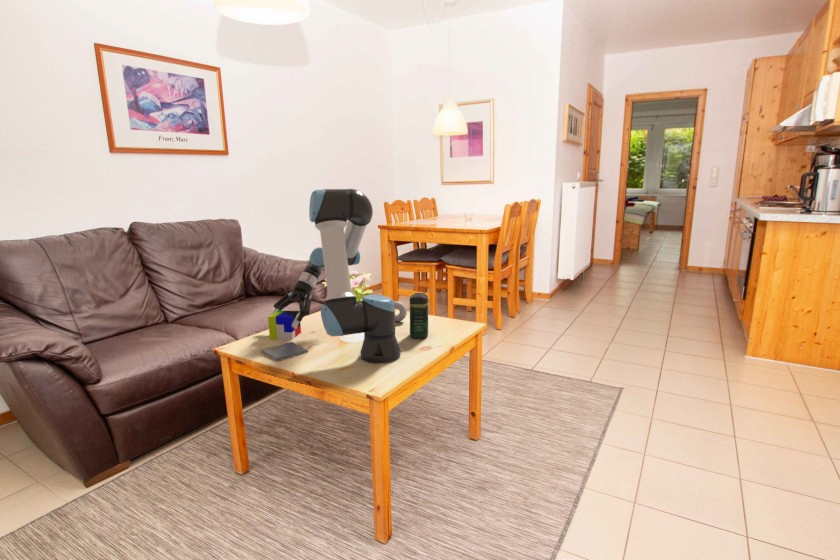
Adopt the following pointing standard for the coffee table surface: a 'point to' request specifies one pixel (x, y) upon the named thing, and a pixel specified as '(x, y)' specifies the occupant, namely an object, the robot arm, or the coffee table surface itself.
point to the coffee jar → (419, 315)
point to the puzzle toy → (283, 325)
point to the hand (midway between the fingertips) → (282, 325)
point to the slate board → (284, 351)
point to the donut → (402, 311)
